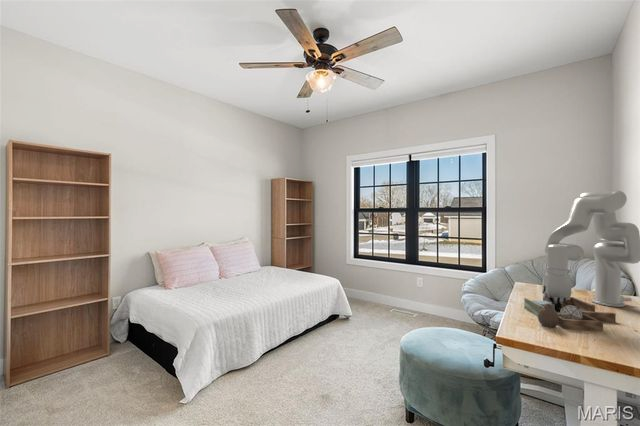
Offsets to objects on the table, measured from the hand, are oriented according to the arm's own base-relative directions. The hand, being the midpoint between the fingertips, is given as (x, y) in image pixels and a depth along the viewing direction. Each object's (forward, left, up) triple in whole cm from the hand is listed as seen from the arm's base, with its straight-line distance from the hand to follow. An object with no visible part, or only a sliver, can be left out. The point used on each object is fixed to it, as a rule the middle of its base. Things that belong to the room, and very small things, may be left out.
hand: (556, 311), depth 136 cm
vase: (+13, +17, -1) cm, 21 cm away
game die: (+1, +12, -1) cm, 12 cm away
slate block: (+6, 0, -1) cm, 6 cm away
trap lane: (-5, 0, -1) cm, 5 cm away
